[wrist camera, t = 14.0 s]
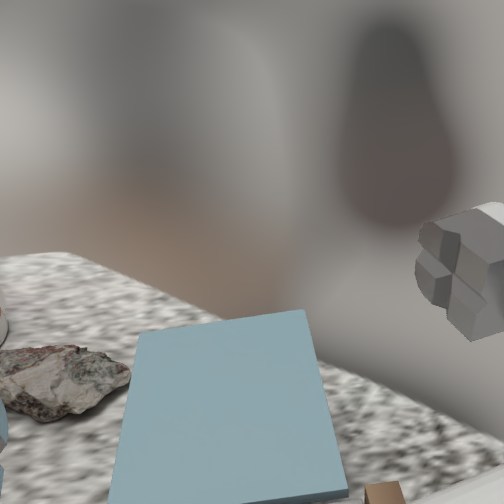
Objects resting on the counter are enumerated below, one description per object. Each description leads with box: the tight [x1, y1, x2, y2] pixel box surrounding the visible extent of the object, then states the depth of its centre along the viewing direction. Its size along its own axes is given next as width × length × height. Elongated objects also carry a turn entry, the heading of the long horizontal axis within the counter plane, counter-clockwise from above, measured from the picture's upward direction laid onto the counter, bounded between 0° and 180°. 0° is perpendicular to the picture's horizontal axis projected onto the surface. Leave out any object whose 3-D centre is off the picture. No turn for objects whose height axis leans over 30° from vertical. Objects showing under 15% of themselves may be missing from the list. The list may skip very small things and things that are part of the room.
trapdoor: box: [107, 309, 363, 504], centre depth 26 cm, size 13×19×4 cm
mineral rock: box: [0, 345, 131, 423], centre depth 43 cm, size 15×8×4 cm, turn 71°
